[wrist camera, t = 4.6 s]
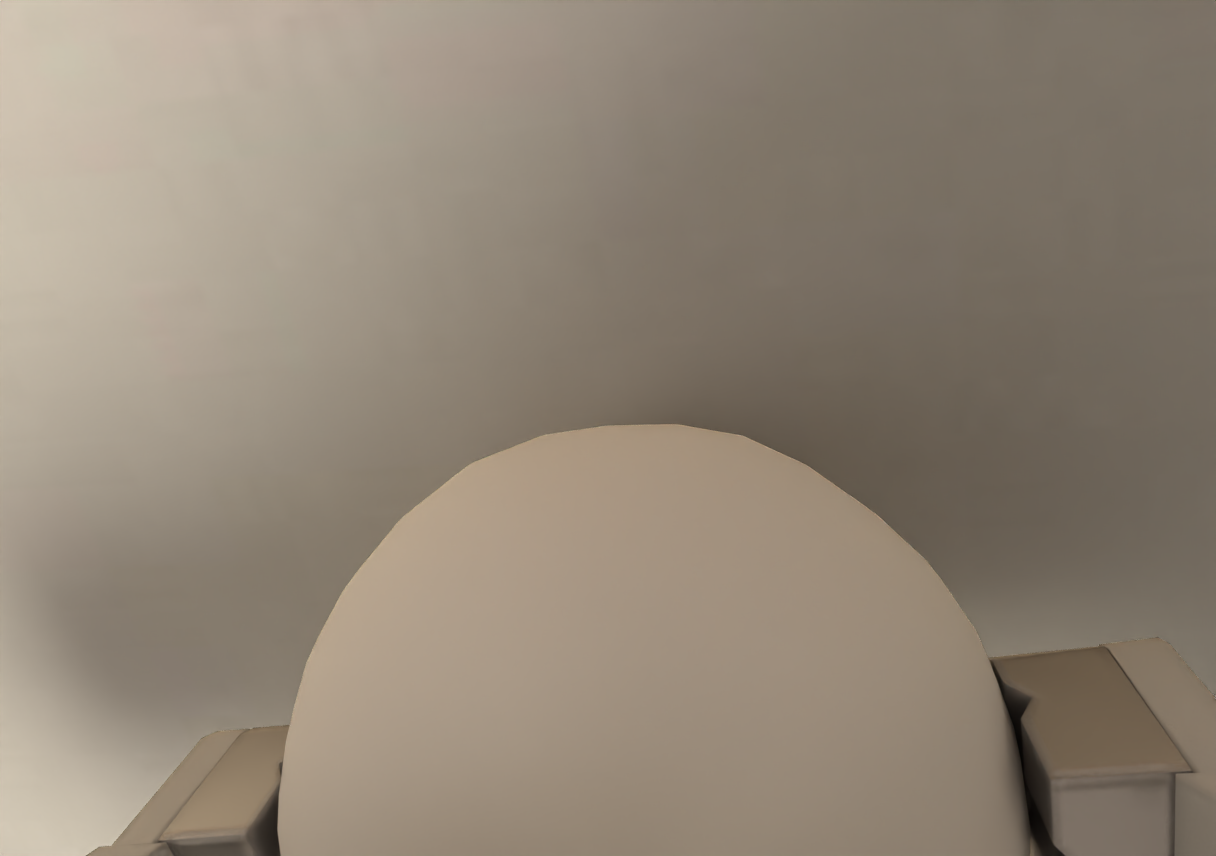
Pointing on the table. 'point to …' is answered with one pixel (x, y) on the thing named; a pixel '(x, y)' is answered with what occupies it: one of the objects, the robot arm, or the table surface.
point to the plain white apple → (648, 671)
